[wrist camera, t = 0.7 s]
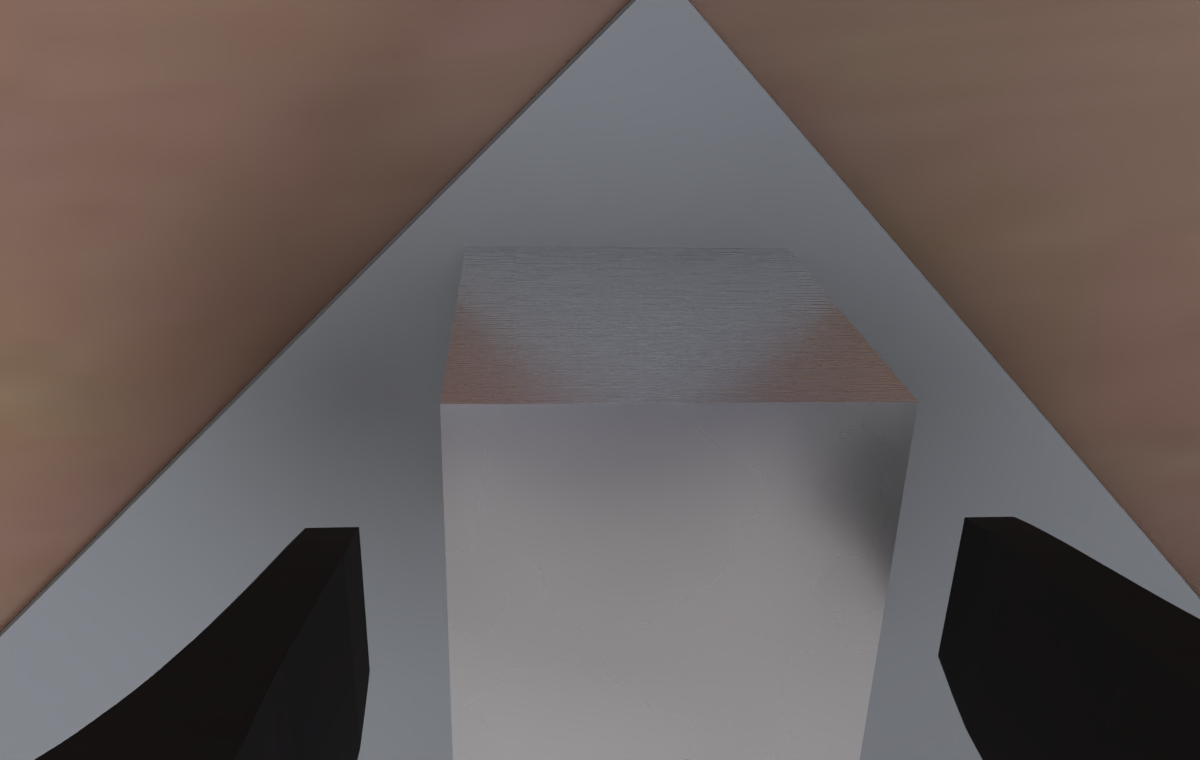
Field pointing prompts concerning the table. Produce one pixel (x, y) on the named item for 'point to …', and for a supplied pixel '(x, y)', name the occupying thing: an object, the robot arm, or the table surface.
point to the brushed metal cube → (664, 506)
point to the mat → (415, 381)
